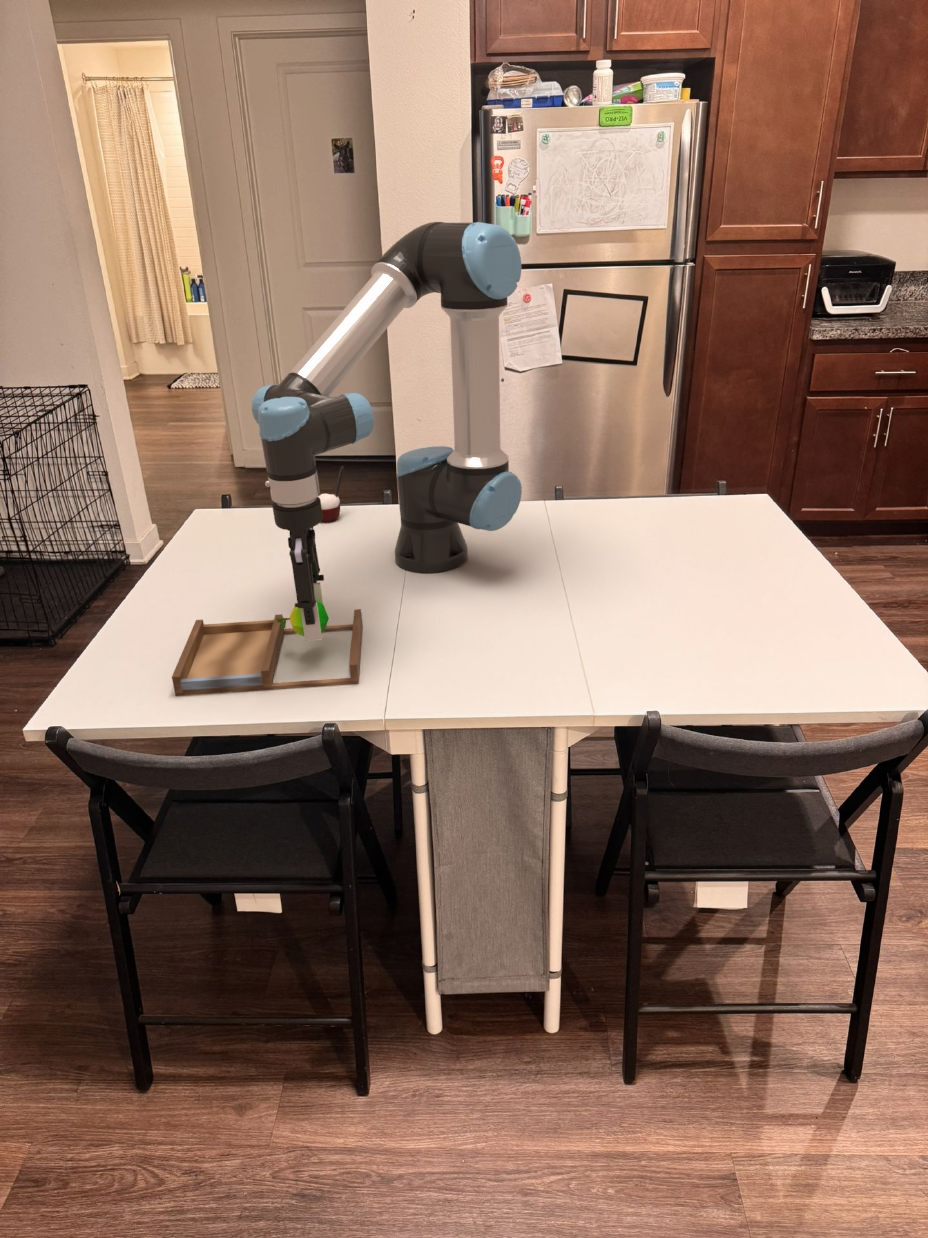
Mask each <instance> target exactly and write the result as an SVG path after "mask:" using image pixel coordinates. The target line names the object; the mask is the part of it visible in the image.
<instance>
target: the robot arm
mask: <svg viewBox="0 0 928 1238" xmlns="http://www.w3.org/2000/svg"><path fill="white" fill-rule="evenodd" d="M370 273H371V277H370V278H369V280H368V281H367V282H366V283H365V284H364V286H363V287H362V288H361V289H360V290H359V291H358V292H357V293H356V295H355V296H354V297H353V298H352V299H351V300H350V302H349V303H348V304H347V306H345V308H344V309H343V310H341V312H340V313H339V315H338V316H337V317H336V318H335V319H334V320H333V322H331V324H330V325H329V326H328V328H326V330H325V331H323V333H322V335H320V337H319V338H318V339H317V340H316V341H315V343H314V344H313V345H312V346H311V347H310V348H309V350H307V352H306V353H305V354H304V355H303V356H302V358H301V359H300V360H299V361H298V362H297V363H296V364H295V366H294V367H293V368H292V369H291V370H290V371H289V372H288V374H287V375H286V376H285V377H284V378H283V379H282V380H281V382H279V384H268V385H265V386H263V387H261V388H259V389H258V390H257V391H256V392H255V394H254V396H253V398H252V401H251V413H252V416H253V419H254V420H255V423H257V424H258V427H259V430H258V431H259V432H258V433H259V434H258V435H259V437H260V441H261V445H262V452H263V456H264V462H265V468H266V473H267V479H268V480H266V481H265V483H264V485H265V487H266V488H270V491H269V492H270V498H271V501H273V502H272V506H271V507H272V512H273V519H274V522H275V525H276V527H278V528H279V529H281V530H286V531H287V532H288V531H289V537H288V538H287V544H288V548H289V549H290V550H289V551H288V552H289V553H288V554H289V557H290V562H291V567H292V574H293V581H294V582H293V583H294V587H295V596H296V602H297V603H296V602H295V603H294V606H295V607H298V608H300V610H301V617H302V623H303V629H304V636H305V637H304V636H303V637H304V641H317V640H318V641H320V640H322V639H323V635H322V634H323V633H321V627H320V620H319V613H318V606H317V602H319V603H322V604H323V605H324V600H323V595H322V594H323V593H322V586H321V585H322V584H321V582H323V581H325V577H324V574H320V573H321V568H320V564H319V557H318V551H317V544H316V531H315V529H314V527H315V526H317V525H319V524H320V523H322V522H321V521H322V518H323V515H322V508H321V500H320V498H319V497H318V496H320V495H321V491H320V484H319V477H318V470H317V463H316V456H317V455H319V456H320V454H321V455H322V454H324V453H327V452H330V451H333V450H336V449H339V448H342V447H344V446H345V447H346V446H349V445H351V444H352V445H353V444H356V443H357V442H359V441H361V440H363V439H365V438H367V437H369V436H370V435H371V433H372V432H373V429H374V426H375V417H374V411H373V408H372V406H371V403H370V402H369V401H368V399H367V398H366V397H365V396H364V395H363V394H360V393H357V392H349V393H342V394H340V395H339V396H333V397H332V396H331V395H332V394H333V393H334V391H336V389H337V388H338V387H339V386H340V385H341V383H343V381H344V380H345V378H347V376H349V374H350V373H351V371H352V370H354V368H355V367H356V366H357V364H358V363H359V362H360V361H361V360H362V358H363V357H364V356H365V355H366V353H367V352H368V351H369V350H370V349H371V348H372V347H373V345H374V344H375V343H376V342H377V340H379V338H381V336H382V335H383V334H384V332H385V331H386V330H387V328H389V326H390V325H392V323H393V322H394V320H395V319H396V318H397V317H398V316H399V314H400V313H401V312H402V311H403V310H404V309H409V308H410V309H411V308H413V307H414V306H415V305H416V303H417V302H418V301H419V300H420V299H421V298H422V297H424V296H426V295H429V294H434V293H438V294H440V307H441V309H442V310H443V312H445V314H446V315H448V317H449V320H450V321H449V322H450V325H449V326H450V348H451V354H450V355H451V377H452V378H451V379H452V381H451V382H452V408H453V409H452V410H453V411H452V413H453V414H452V415H453V432H454V433H453V439H454V448H452V447H451V446H444V445H442V446H441V445H440V446H439V445H437V446H427V447H422V448H417V449H413V450H409V451H406V452H404V453H403V454H401V455H400V456H399V457H398V459H397V461H396V482H397V485H396V486H397V492H398V494H397V495H398V505H399V506H398V507H399V514H400V515H399V517H400V528H399V533H398V536H397V540H396V543H395V548H394V559H395V560H394V561H395V564H396V565H397V566H398V567H399V568H401V569H404V570H406V571H409V572H413V573H425V574H426V573H430V574H431V573H440V572H446V571H449V570H452V569H456V568H458V567H460V566H462V565H463V564H464V563H466V562H467V560H468V558H469V557H468V556H469V555H468V554H469V553H468V545H467V542H466V540H465V537H464V535H463V532H462V529H461V527H460V525H459V524H461V525H463V526H467V527H471V528H473V529H475V530H484V531H487V532H489V531H490V532H494V531H499V530H500V529H503V528H504V527H506V525H508V523H509V522H510V521H511V520H512V518H513V517H514V515H515V514H516V513H517V511H518V508H519V506H520V503H521V499H522V493H523V490H522V483H521V482H522V481H520V478H519V477H518V475H516V474H515V473H513V471H509V468H510V467H509V463H510V462H509V461H510V460H509V456H508V454H507V453H506V452H505V451H503V450H502V449H501V401H500V400H501V398H500V397H501V392H500V388H501V383H500V377H501V376H500V318H499V317H500V315H501V314H502V313H503V311H505V309H507V307H508V297H510V296H511V295H513V294H514V293H515V291H516V289H517V287H518V284H517V283H519V282H520V280H521V275H522V257H521V252H520V249H519V247H518V244H517V241H516V240H515V238H514V237H513V236H511V234H510V231H508V230H507V229H505V228H504V227H502V225H501V226H500V225H498V224H494V223H493V224H492V223H486V222H481V221H477V222H443V221H433V222H432V221H431V222H428V223H425V224H422V225H420V226H418V227H416V228H414V229H412V230H411V231H409V232H407V233H406V234H405V235H404V236H402V237H401V238H399V239H398V240H397V241H396V242H395V243H394V244H392V246H390V248H388V249H387V250H386V252H385V253H384V254H383V255H381V257H379V259H378V260H377V261H376V262H375V264H373V266H372V268H371V272H370ZM316 601H317V602H316Z"/></svg>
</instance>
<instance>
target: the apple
mask: <svg viewBox="0 0 928 1238" xmlns="http://www.w3.org/2000/svg"><path fill="white" fill-rule="evenodd" d="M316 602H317V601H316ZM317 606H318V613H319V620H320V627H321V633H322V634H323V633H324V629H325V627H326V626H328V625H327V624H328V623H329V620H330V617H329V614H328V612H327V610H326V608H325V605H324V603H323V604H322V603H319V602H317ZM276 619H277V621H278V622H281V621H283V622H282V623H281V626H282V627H284V629H286V625H287V621H288V620H289V621H290V623H291V626H292V628H293V629H294V632H295V633H297V635H300V636H302V637H304V638H305V636H304V629H303V623H302V617H301V610H300V608H298V607H295V605H294V606H293V608H292V610H291V613H290V615H289V617H283V618H276Z"/></svg>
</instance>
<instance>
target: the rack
mask: <svg viewBox="0 0 928 1238" xmlns="http://www.w3.org/2000/svg"><path fill="white" fill-rule="evenodd" d="M276 618H284V615H283V614H275V615H274V619H270V620H269V619H266V620H253V621H252V620H251V621H237V622H236V621H235V622H220V623H219V622H218V623H209V624H205V623H204V619H195V622H194V624H193V626H192V628H191V631H190V634H189V636H188V638H187V641H186V643H185V645H184V648H183V650H182V652H181V655H180V657H179V658H178V662H177V663H176V666H175V669H174V671H173V673H172V676H171V679H172V685H173V690H174V694H175V697H181V696H182V697H183V696H195V695H210V694H211V695H212V694H225V693H241V692H242V693H243V692H254V691H256V692H257V691H267V690H268V691H269V690H281V689H282V690H283V689H298V688H311V687H314V688H315V687H327V686H328V687H329V686H342V685H344V686H345V685H357V684H360V674H361V673H360V672H361V671H360V670H361V659H362V658H361V657H362V643H363V640H362V639H363V628H364V627H363V614H362V609H357V608H356V609H354V610H353V620H352V621H353V622H352V624H349V623H348V624H338V625H337V624H336V625H335V624H334V625H326V627H325V629H324V632H338V631H352V632H351V639H350V640H351V643H350V654H349V662H348V663H349V666H348V667H349V676H350V677H343V678H342V677H341V678H329V679H328V678H327V679H315V680H314V679H313V680H299V681H285V682H284V681H282V682H274V680H275V676H276V671H277V667H278V663H279V660H280V659H279V658H280V654H281V649H282V646H283V645H282V644H283V640H284V636H285V635H293V634H295V635H296V634H297V633H295V632H294V629H293V627H292V628H291V627H290V628H284V627H282V626H281V623H282V622H283V621H281V622H278V621H277V619H276ZM324 632H323V633H324ZM297 635H298V634H297Z"/></svg>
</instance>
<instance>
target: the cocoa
mask: <svg viewBox="0 0 928 1238" xmlns="http://www.w3.org/2000/svg"><path fill="white" fill-rule="evenodd" d="M344 471H345V467H344V466H343V465H341V466H340V469H339V473H338V477H337V481H336V486H335V489H334V493H332V494H329V493H320V494H319V496H318V497H319V498H320V500H321V508H322V515H323V518H322V521H321V522H320V523H331V522H334V521H336V520H338V518H339V516H340V512H341V503H340V501H341V500H340V498H339V491H340V487H341V483H342V479H343V475H344Z"/></svg>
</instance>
